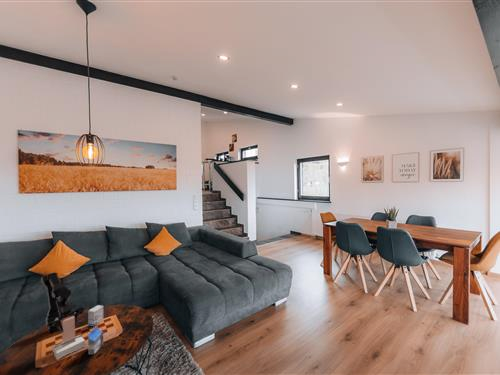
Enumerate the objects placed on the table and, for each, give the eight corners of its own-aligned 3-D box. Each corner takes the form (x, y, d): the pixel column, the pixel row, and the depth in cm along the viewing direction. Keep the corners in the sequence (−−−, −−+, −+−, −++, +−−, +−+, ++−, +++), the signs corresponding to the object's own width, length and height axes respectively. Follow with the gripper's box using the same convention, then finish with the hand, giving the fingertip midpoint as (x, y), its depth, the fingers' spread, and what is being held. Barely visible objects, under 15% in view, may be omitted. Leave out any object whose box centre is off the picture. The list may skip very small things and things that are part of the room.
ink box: (93, 328, 165) (93, 311, 165) (88, 327, 166) (87, 310, 166) (103, 320, 174) (103, 305, 173) (98, 320, 175) (97, 304, 174)
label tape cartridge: (94, 354, 140) (94, 334, 140) (87, 354, 140) (87, 334, 140) (103, 344, 149) (103, 325, 149) (97, 344, 149) (97, 325, 149)
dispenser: (52, 353, 141) (52, 346, 141) (80, 340, 152) (80, 334, 152) (57, 360, 136) (56, 352, 136) (85, 346, 147) (85, 339, 147)
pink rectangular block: (62, 341, 142) (61, 320, 142) (74, 336, 147) (73, 316, 147) (63, 342, 141) (62, 321, 141) (75, 337, 146) (74, 317, 146)
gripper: (46, 306, 138) (52, 331, 132) (83, 293, 153) (90, 316, 147) (43, 314, 143) (48, 339, 137) (79, 301, 158) (85, 323, 152)
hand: (69, 329), depth 143 cm, fingers closed on pink rectangular block, 6 cm apart
